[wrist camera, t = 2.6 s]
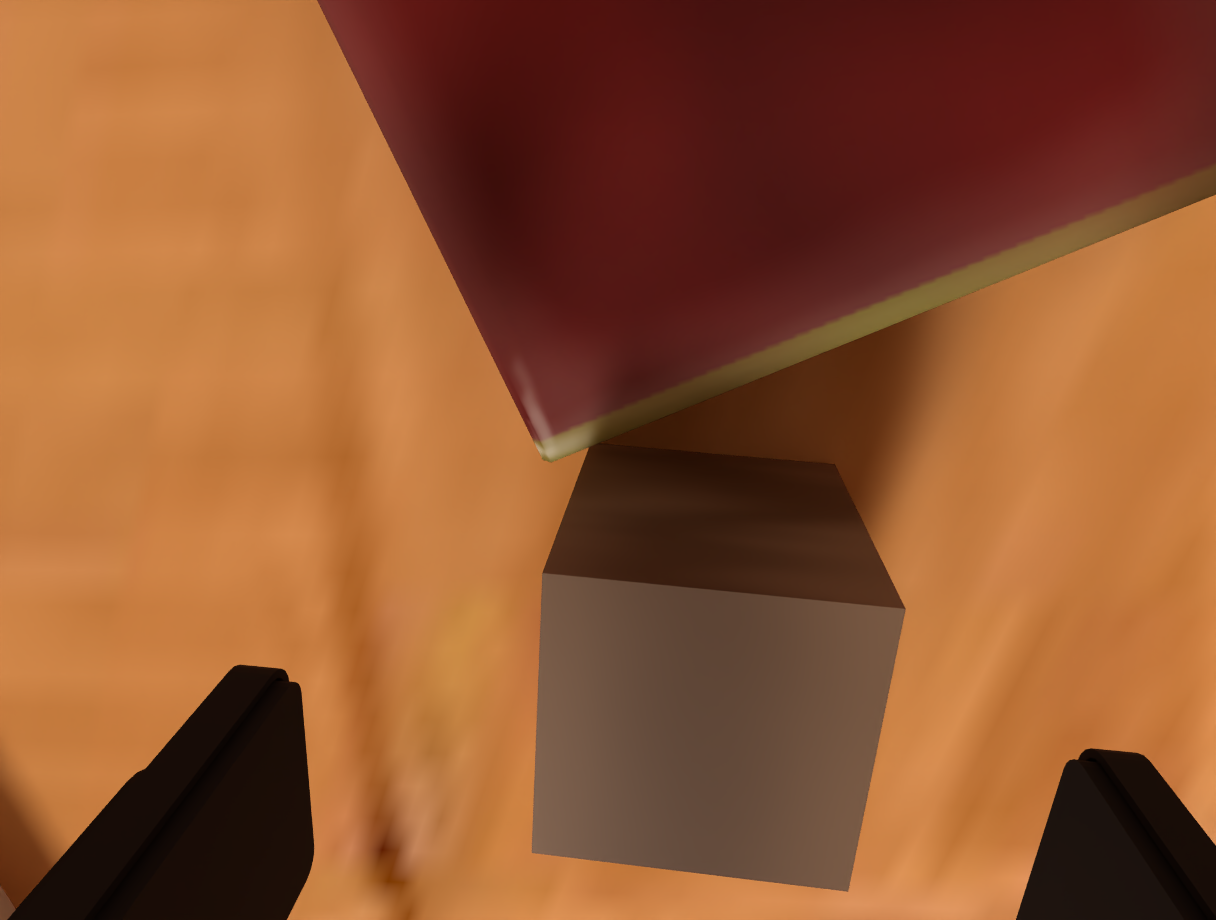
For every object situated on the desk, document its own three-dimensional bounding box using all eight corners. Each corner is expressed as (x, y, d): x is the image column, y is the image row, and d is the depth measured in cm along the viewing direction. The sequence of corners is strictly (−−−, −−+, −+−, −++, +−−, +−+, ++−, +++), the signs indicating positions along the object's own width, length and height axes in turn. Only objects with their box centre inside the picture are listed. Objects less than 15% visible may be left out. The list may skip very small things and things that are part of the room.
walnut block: (834, 463, 17) (905, 608, 11) (800, 673, 19) (848, 891, 13) (591, 442, 17) (542, 572, 12) (579, 650, 19) (531, 852, 13)
